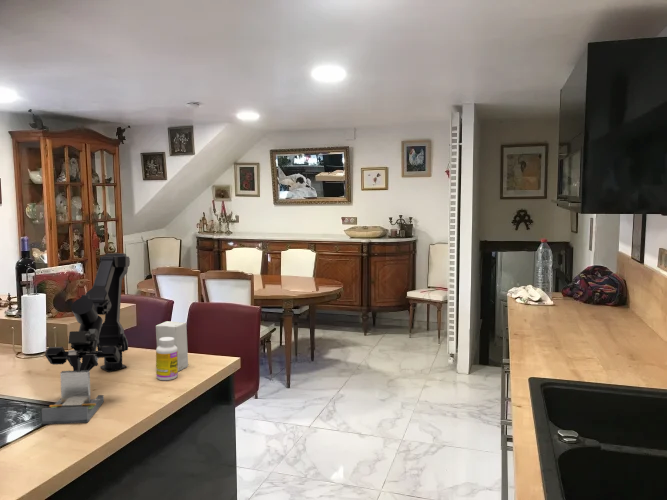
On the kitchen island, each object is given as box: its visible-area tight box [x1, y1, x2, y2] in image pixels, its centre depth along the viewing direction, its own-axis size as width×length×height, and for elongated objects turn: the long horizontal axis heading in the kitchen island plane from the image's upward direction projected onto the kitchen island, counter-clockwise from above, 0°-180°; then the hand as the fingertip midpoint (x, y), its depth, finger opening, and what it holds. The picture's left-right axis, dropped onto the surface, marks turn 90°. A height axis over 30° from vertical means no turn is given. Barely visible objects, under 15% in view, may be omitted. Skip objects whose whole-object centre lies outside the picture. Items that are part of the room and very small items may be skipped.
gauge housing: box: [41, 394, 105, 425], centre depth 142 cm, size 14×11×4 cm
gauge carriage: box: [49, 370, 96, 408], centre depth 142 cm, size 4×12×10 cm, turn 97°
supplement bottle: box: [155, 337, 179, 381], centre depth 170 cm, size 7×7×13 cm
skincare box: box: [155, 320, 189, 372], centre depth 179 cm, size 8×7×16 cm
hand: (76, 382), depth 144 cm, fingers closed
